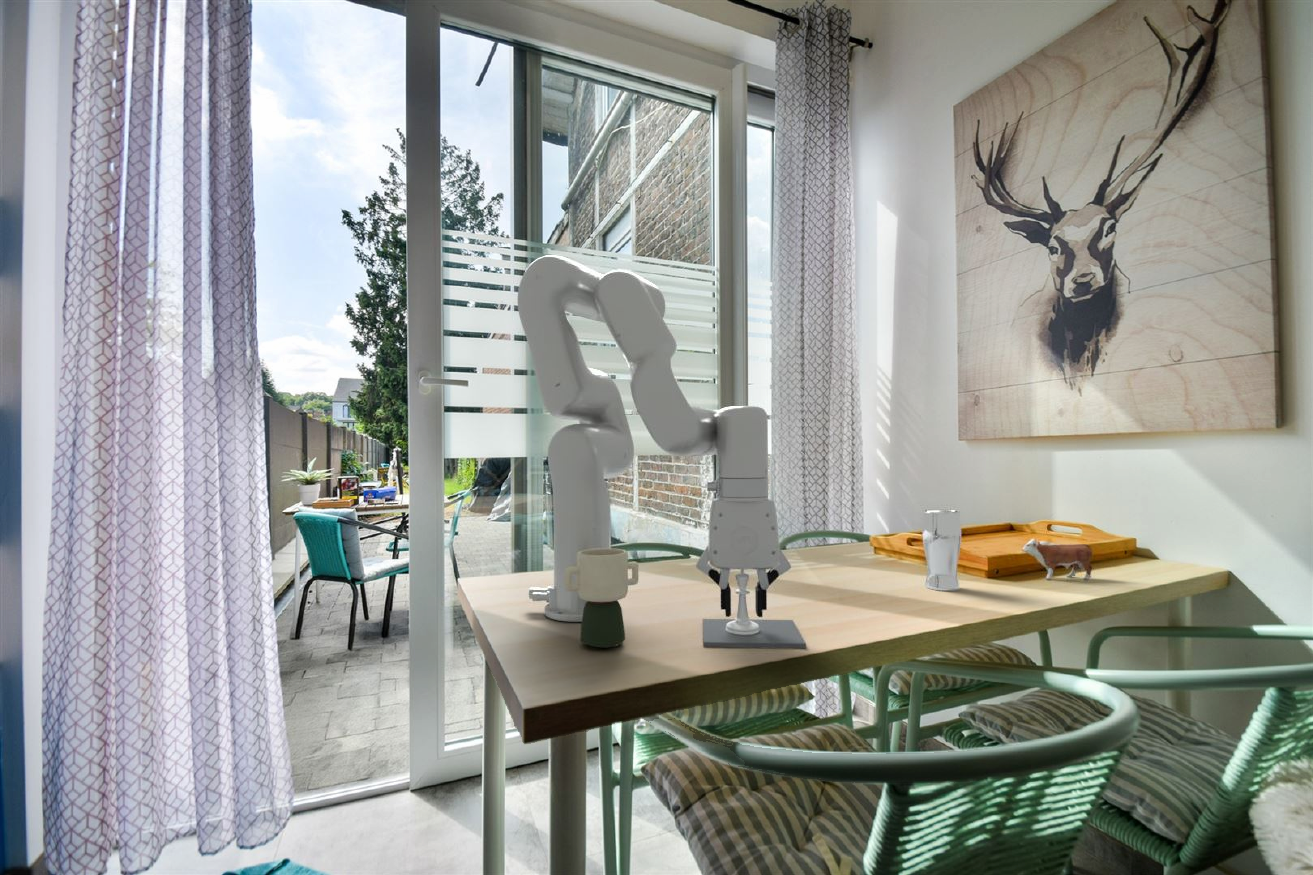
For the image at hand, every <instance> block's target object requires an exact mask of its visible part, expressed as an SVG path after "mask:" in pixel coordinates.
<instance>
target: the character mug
mask: <svg viewBox="0 0 1313 875" xmlns="http://www.w3.org/2000/svg"><path fill="white" fill-rule="evenodd" d="M629 569H630V570H631V578H629ZM576 573H577V584H572V583H571V575H572V574H576ZM638 582H639V564H638V562H637V561H629V554H628V550H625V549H622V548H621V549H620V548H613V547H611V548H594V549H586V550H582V551H579V552H577V566H575V567H568V568H566V569H565V590H566V591H577V592H578V594H579V597H580V598H581V599H583V600H586V601H588V602H587V603H586V604H585V606H584V610H583V617H582V622H581V625H580V636H579V637H580V638H579V641H580V642H581V643H583V644H584V645H587V646H591V648H592V647H596V648H611V647H616V646H618V645H621V644H622V643H624V641H625V640H626V633H625V632H626V631H625V625H624V619H623V618H624V617H623V609H622V606H621V604H620V603H619V600H622V599H624V598H626V597H627V595H628V591H629V586H635V585H637V584H638Z"/></svg>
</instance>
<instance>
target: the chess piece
mask: <svg viewBox="0 0 1313 875" xmlns="http://www.w3.org/2000/svg"><path fill="white" fill-rule="evenodd" d="M745 570H746V571H747V570H749V569H740V572H739V573H737V574H735V579H736V582H737V586H738V589H737V588H736V589H735V591H734V592H735V594H737V595H738V605H737V612H736V613H737V614H736V617H735V618H734V619H735V620H734V621H731V622H729V623H727V625H726V631H727V632H729V633H732V634H738V635H751V634H756V633H758V632H759V631H760V630H759V625H758V624H757V623H755V622H752V621H749V620H750V619H751V618H750V617H749V613H748V605H747V595H749V594H750V590H749V589H747V585H748V581H749V579H750V575H749V574H747V573H746V572H745Z"/></svg>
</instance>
